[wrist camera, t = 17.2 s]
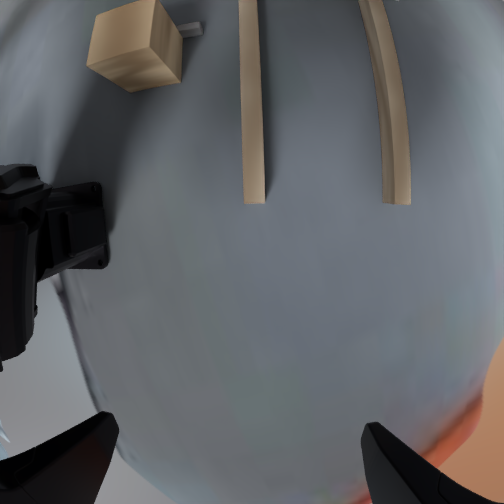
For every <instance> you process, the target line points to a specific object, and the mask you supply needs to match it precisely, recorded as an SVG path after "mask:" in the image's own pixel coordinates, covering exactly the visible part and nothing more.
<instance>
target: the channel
mask: <svg viewBox="0 0 504 504" xmlns="http://www.w3.org/2000/svg"><path fill="white" fill-rule="evenodd" d="M358 3H359V7H360V11H361V14H362V19H363V23H364V27H365V31H366V36H367V41H368V46H369V51H370V56H371V62H372V68H373V74H374V81H375V88H376V96H377V104H378V113H379V124H380V136H381V152H382V180H383V203H390V204H403V205H411V171H410V150H409V136H408V125H407V115H406V107H405V99H404V92H403V86H402V80H401V74H400V69H399V64H398V59H397V54H396V49H395V45H394V41H393V37H392V33H391V29H390V25H389V22H388V18H387V15H386V11H385V8H384V5H383V2H382V0H358ZM239 37H240V81H241V120H242V155H243V188H244V204H251V203H265V174H264V143H263V115H262V90H261V68H260V47H259V27H258V9H257V0H239Z"/></svg>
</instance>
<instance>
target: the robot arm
mask: <svg viewBox="0 0 504 504" xmlns="http://www.w3.org/2000/svg"><path fill="white" fill-rule="evenodd" d="M94 186H96V191H94ZM100 260H102V261H103V264H101V262H100ZM107 265H108V257H107V249H106V231H105V220H104V209H103V205H102V187H101V184H100V183H99V182H90V183H84V184H78V185H73V186H67V187H62V188H57V189H52V186H51V185H48V184H46V183H44V182H42V181H41V180H40V177H39V175H38V172H37V168H36V166H34V165H32V164H10V165H7V166H4V165H0V372H2V371H3V366H2V361H5V360H8V359H11V358H13V357H16V356H18V355H20V354H21V353H22V352H24V351H25V349H26V346H25V345H26V344H27V343H28V341H29V340H30V338H31V337H32V335H33V329H34V318H35V317H36V315H37V308H38V307H37V305H36V296H37V294H36V293H37V283H38V282H40V281H42V280H44V279H46V278H48V277H50V276H53V275H55V274H57V273H59V272H61V271H63V270H66V269H104V268H105V267H107ZM118 434H119V427H118V424H117V422H116V420H115V418H114V415H113V414H112V413H109V412H105V411H101V412H99V413H98V414H96V415H94V416H92V417H91V418H89V419H87V420H85V421H84V422H82V423H80V424H78V425H76V426H74V427H72V428H70V429H69V430H67V431H65V432H63V433H61V434H59V435H57V436H55V437H53V438H51V439H50V440H47V441H46V442H44V443H42V444H40V445H38V446H36V447H33V448H31V449H29V450H27V451H25V452H23V453H20V454H18V455H15V456H13V457H10V458H7V459H4V460H1V461H0V504H94V502H95V500H96V497H97V495H98V492H99V489H100V487H101V484H102V482H103V480H104V477H105V475H106V472H107V470H108V467H109V465H110V462H111V459H112V455H113V451H114V448H115V445H116V441H117V438H118ZM361 448H362V454H363V461H364V469H365V476H366V481H367V484H368V488H369V492H370V496H371V499H372V503H373V504H504V503H498V502H493V501H491V500H488V499H486V498H484V497H482V496H480V495H478V494H476V493H474V492H472V491H470V490H468V489H467V488H465V487H463V486H461V485H460V484H458V483H456V482H455V481H453V480H452V479H450V478H449V477H448V476H446V475H445V474H444V473H442V472H440V471H439V470H438V469H437V468H435V467H434V466H433V465H432V464H430V463H429V462H428V461H426V460H425V459H424V458H422V457H421V456H420V455H419V454H417V453H416V452H415V451H413V450H412V449H411V448H410V447H408V446H407V445H406V444H405V443H403V442H402V441H401V440H400V439H398V438H397V437H396V436H395V435H393V434H392V433H391V432H390V431H389V430H387V429H386V428H385V427H384V426H382V425H381V424H380V423H379V422H371V423H367V424H366V425H365V428H364V431H363V434H362V437H361Z"/></svg>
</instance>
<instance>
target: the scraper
mask: <svg viewBox="0 0 504 504" xmlns="http://www.w3.org/2000/svg"><path fill="white" fill-rule="evenodd" d="M200 35H203V28H202V26H201V24H200V22H193V23H187V24H182V25H177V26H175V25H174V23H173V21H172V20H171V18H170V17H169V15H168V14H167V12H166V10H165V9H164V7H163V6H162V4H161V3H160V1H159V0H139V1H136V2H132V3H129V4H126V5H123V6H120V7H117V8H115V9H112V10H109V11H107V12H104V13H101V14H99V15H97V16H96V20H95V24H94V28H93V33H92V37H91V42H90V47H89V53H88V59H87V65H86V66H87V67H89V68H90V69H92V70H94V71H95V72H97V73H99V74H100V75H102V76H104V77H105V78H107V79H109V80H110V81H112V82H114V83H115V84H117V85H118V86H120V87H122V88H123V89H125V90H126V91H128V92H129V93H132V92H136V91H140V90H145V89H150V88H154V87H159V86H165V85H170V84H176V83H181V69H182V46H183V38H187V37H193V36H200Z"/></svg>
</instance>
